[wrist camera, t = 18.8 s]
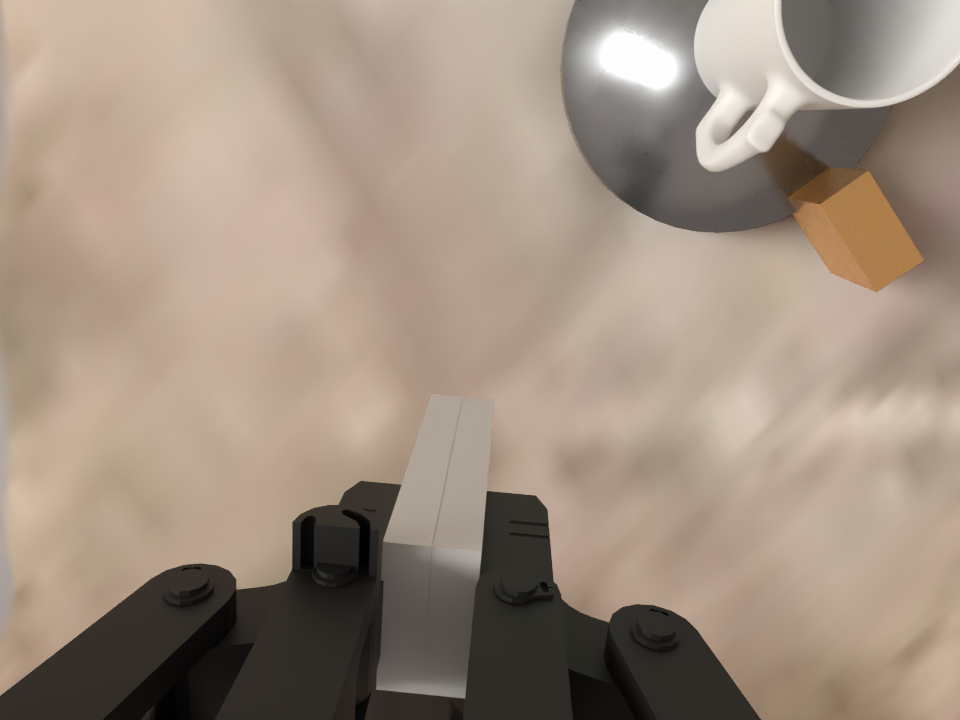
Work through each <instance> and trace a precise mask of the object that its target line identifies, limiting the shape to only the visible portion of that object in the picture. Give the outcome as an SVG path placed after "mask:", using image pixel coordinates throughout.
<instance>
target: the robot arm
mask: <svg viewBox="0 0 960 720" xmlns="http://www.w3.org/2000/svg"><path fill="white" fill-rule="evenodd" d="M493 409H494V400H489V399H478V398H467V397H457V396H446V395H435V394H431V397H430V401H429V404H428V407H427V410H426V413H425V416H424V419H423V422H422V425H421V428H420V431H419V434H418V437H417V440H416V443H415V446H414V449H413V452H412V455H411V458H410V461H409V464H408V467H407V470H406V473H405V476H404V479H403V482H402V485H398V484H387V483H376V482H366V481H360V482H359V483H357V484H356V485H354V486H353V487H352V488H350V489H349V490H347V491H346V492H345V493H344V495H343V497H342V499H341V501H340V503H339V505H327V506H322V507H317V508H313V509H311V510H309V511H306V512H304V513H302V514H300V515H299V516H298V517H297V518H296V519H295V520H294V521H293V547H292V571H291V573H290V575H289V577H288V579H287V581H285V582H282V583H279V584H276V585H271V586H265V587H258V588H249V589H240V590H236V579H235V577H234V576H233V575H232V574H231V572H230V571H228V570H226V569H224V568H221V567H219V566H216V565H208V564H189V565H183V566H179V567H176V568H173V569H169V570H166V571H164V572H162V573H161V574H159V575H157V576H155V577H154V578H152V579H150V580H149V581H148V582H147V583H145V584H144V585H143V586H141V587H140V588H139V589H138V590H136V591H135V592H134V593H132V594H131V595H130V596H129V597H127V598H126V599H125V600H123V601H122V602H121V603H120V604H118V605H117V606H116V607H114V608H113V609H112V610H110V611H109V612H108V613H107V614H105V615H104V616H103V617H101V618H100V619H99V620H98V621H96V622H95V623H94V624H92V625H91V626H90V627H89V628H87V629H86V630H85V631H83V632H82V633H81V634H80V635H78V636H77V637H76V638H74V639H73V640H72V641H71V642H69V643H68V644H67V645H65V646H64V647H63V648H61V649H60V650H59V651H58V652H56V653H55V654H54V655H52V656H51V657H50V658H49V659H47V660H46V661H45V662H43V663H42V664H41V665H40V666H38V667H37V668H36V669H34V670H33V671H32V672H31V673H29V674H28V675H27V676H25V677H24V678H23V679H22V680H20V681H19V682H18V683H16V684H15V685H14V686H12V687H11V688H10V689H9V690H7V691H6V692H5V693H3V694H2V695H1V696H0V720H761V719H760V718H759V716H758V715H757V714H756V712H755V711H754V709H753V708H752V707H751V705H750V704H749V702H748V701H747V700H746V698H745V697H744V695H743V694H742V693H741V691H740V690H739V688H738V687H737V686H736V684H735V683H734V681H733V680H732V679H731V677H730V676H729V674H728V673H727V672H726V670H725V669H724V667H723V666H722V665H721V663H720V662H719V660H718V659H717V658H716V656H715V655H714V653H713V652H712V651H711V649H710V648H709V646H708V645H707V644H706V642H705V641H704V639H703V638H702V637H701V635H700V634H699V632H698V631H697V630H696V629H695V628H694V627H693V626H692V625H691V624H690V623H689V622H688V621H687V620H686V619H685V618H683V617H681V616H679V615H677V614H676V613H674V612H672V611H670V610H667V609H664V608H660V607H657V606H654V605H640V604H636V605H631V606H626V607H622V608H621V609H619V610H618V611H616V612H615V613H613V614H612V617H611V620H610V622H605V621H602V620H599V619H596V618H593V617H590V616H588V615H585V614H583V613H580V612H579V611H577V610H575V609H574V608H572V607H570V606H569V605H568V604H567V603H565V602H564V601H563V600H562V599H561V594H560V591H559V589H558V586H557V584H555V583H554V582H553V570H552V558H551V547H550V539H549V537H550V535H549V527H548V525H549V523H548V512H547V509H546V507H545V506H544V505H543V504H542V503H541V501H540V500H539V499H538V498H537V497H536V496H533V495H523V494H512V493H501V492H491V491H487V481H488V469H489V457H490V445H491V433H492V421H493Z"/></svg>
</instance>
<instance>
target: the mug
mask: <svg viewBox="0 0 960 720" xmlns="http://www.w3.org/2000/svg"><path fill="white" fill-rule="evenodd" d="M694 57H695V63H696V67H697V70H698V73H699V75H700V77H701V79H702V81H703V83H704V84H705V86H706V87H707V89H708V90H709V91H710V92H711V93H712V94H713V95H714V96H715V97H716V98H717V99H716V101H715V102H714V104H713V105H712V107H711V108H710V110H709V111H708V112H707V114H706V115H705V116H704V118H703V119H702V121H701V122H700V123H699V125H698V127H697V129H696V151H697V157H698V160H699V163H700V164H701V165H702V166H703V167H704V168H705V169H707V170H709V171H711V172H720V171H724V170H727V169H729V168H731V167H734V166H736V165H738V164H740V163H742V162H744V161H746V160H748V159H749V158H751V157H753V156H755V155H756V154H758V153H761V152H767V151H769V150H770V149H771V147H772V146H773V145H774V143H775V142H776V140H777V139H778V138H779V136H780V135H781V133H782V131H783V130H784V127H785V124H786V122H787V121H788V119H789V118H790V117H791V116H792V115H793V114H794V113H795V112H796V111H797V110H833V109H858V108H877V107H884V106H889V105H893V104H897V103H900V102H903V101H906V100H908V99H911V98H913V97H915V96H917V95H919V94H921V93H923V92H925V91H927V90H928V89H930V88H931V87H933V86H935V85H936V84H937V83H939V82H940V81H941V80H943V79H944V78H945V77H946V76H947V75H949V74H950V73H951V72H952V71H953V70H954V69H955V68H956V67H957V66H958V65H959V64H960V0H709V1H708V3H707V4H706V6H705V7H704V9H703V11H702V13H701V16H700V18H699V21H698V24H697V27H696V32H695V38H694ZM747 111H754V112H753V114H752V115H751V116H750V118H749V119H748V120H747V121H746V122H745V124H744V125H743V126H742V127H741V128H740V129H739V130H738V131H737V132H736V133H735V134H734V135H733V136H732V137H731V138H729V139H728V137H729V135H730V133H731V132H732V130H733V129H734V127H735V126H736V124H737V123H738V122H739V120H740V119H741V118H742V116H743V115H744V114H745V113H746V112H747ZM727 139H728V140H727Z"/></svg>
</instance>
